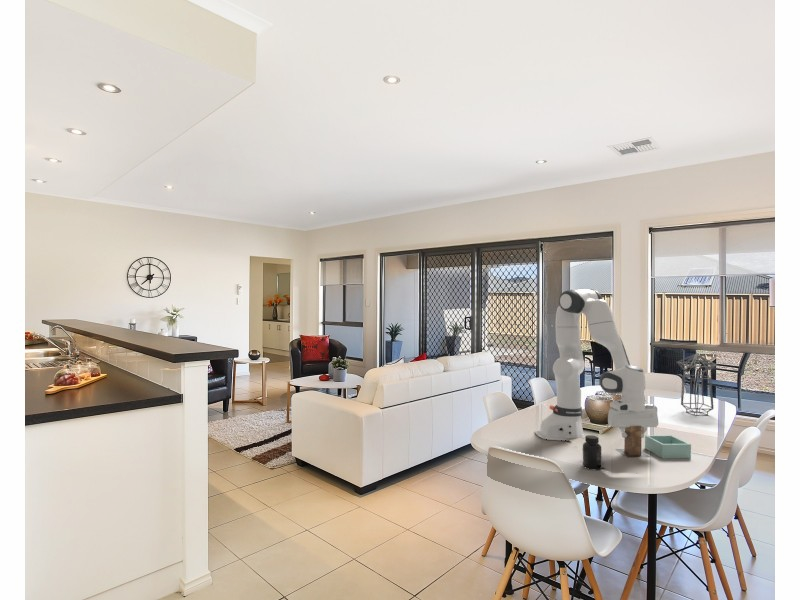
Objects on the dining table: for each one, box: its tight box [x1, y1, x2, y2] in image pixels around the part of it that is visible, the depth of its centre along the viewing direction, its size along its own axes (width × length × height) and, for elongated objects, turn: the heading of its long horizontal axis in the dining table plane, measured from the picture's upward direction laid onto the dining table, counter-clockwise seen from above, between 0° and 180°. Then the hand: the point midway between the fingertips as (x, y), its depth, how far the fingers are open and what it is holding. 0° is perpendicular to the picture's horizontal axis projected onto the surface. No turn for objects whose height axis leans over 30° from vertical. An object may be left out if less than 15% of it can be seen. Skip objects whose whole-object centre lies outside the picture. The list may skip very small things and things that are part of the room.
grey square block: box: [615, 448, 651, 459], centre depth 187 cm, size 10×10×8 cm
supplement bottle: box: [582, 434, 603, 470], centre depth 175 cm, size 7×7×12 cm
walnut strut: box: [623, 426, 642, 455], centre depth 187 cm, size 5×5×12 cm
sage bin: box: [644, 434, 692, 460], centre depth 188 cm, size 12×12×7 cm
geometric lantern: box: [675, 353, 718, 417], centre depth 258 cm, size 16×16×35 cm
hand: (632, 437), depth 187 cm, fingers open, 6 cm apart
